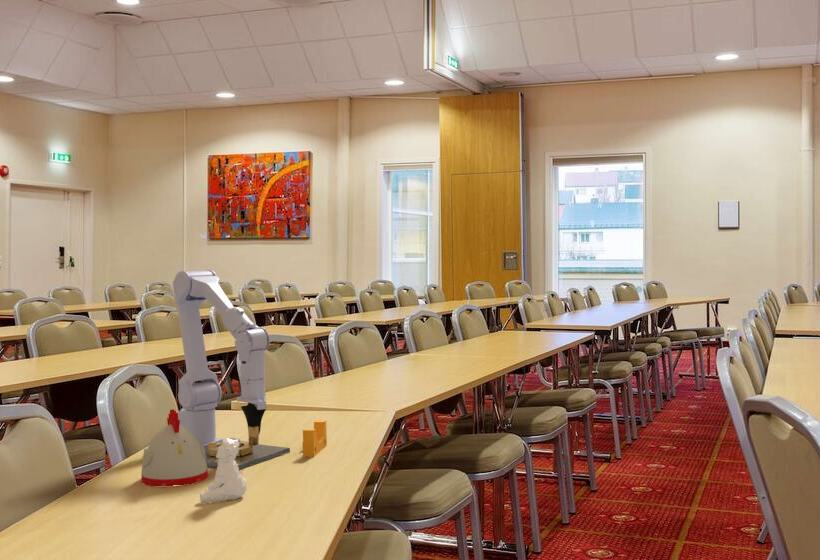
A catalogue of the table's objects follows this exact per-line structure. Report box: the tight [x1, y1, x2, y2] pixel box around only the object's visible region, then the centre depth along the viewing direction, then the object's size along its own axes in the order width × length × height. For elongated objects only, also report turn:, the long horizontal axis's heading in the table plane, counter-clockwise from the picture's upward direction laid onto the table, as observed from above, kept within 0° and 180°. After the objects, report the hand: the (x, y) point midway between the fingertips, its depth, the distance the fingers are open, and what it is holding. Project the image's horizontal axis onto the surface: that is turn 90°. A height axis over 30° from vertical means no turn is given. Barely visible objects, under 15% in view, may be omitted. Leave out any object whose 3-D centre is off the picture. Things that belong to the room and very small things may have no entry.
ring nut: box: [207, 426, 260, 456], centre depth 218 cm, size 11×10×6 cm
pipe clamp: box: [302, 420, 328, 458], centre depth 223 cm, size 12×4×6 cm, turn 171°
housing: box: [204, 437, 291, 471], centre depth 218 cm, size 20×20×4 cm
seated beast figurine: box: [199, 437, 247, 504], centre depth 183 cm, size 10×9×12 cm
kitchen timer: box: [140, 409, 209, 487], centre depth 198 cm, size 14×14×15 cm
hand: (254, 434), depth 220 cm, fingers closed, pressing on ring nut
